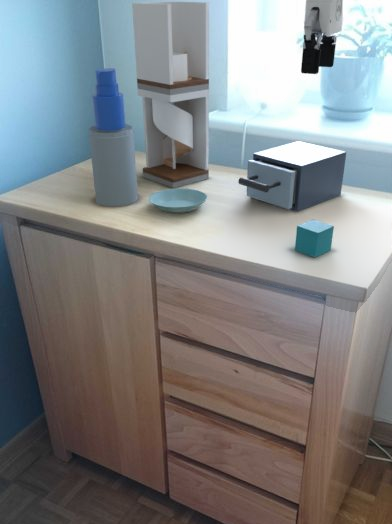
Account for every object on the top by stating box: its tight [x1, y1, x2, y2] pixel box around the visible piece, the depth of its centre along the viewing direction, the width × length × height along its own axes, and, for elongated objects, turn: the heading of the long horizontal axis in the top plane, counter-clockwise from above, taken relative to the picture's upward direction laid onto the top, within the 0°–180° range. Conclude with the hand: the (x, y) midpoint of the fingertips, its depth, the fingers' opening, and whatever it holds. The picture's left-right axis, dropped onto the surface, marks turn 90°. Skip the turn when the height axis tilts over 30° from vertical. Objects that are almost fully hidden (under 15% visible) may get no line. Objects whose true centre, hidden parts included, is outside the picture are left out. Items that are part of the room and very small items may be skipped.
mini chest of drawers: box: [252, 140, 347, 213], centre depth 117 cm, size 15×13×9 cm
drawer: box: [237, 159, 298, 210], centre depth 114 cm, size 18×11×7 cm, turn 132°
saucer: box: [148, 188, 208, 214], centre depth 114 cm, size 12×12×2 cm
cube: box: [294, 219, 335, 258], centre depth 95 cm, size 4×4×4 cm
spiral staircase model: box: [131, 0, 210, 189], centre depth 122 cm, size 11×11×35 cm
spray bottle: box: [88, 67, 139, 208], centre depth 112 cm, size 9×9×25 cm
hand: (317, 69), depth 107 cm, fingers open, 9 cm apart
